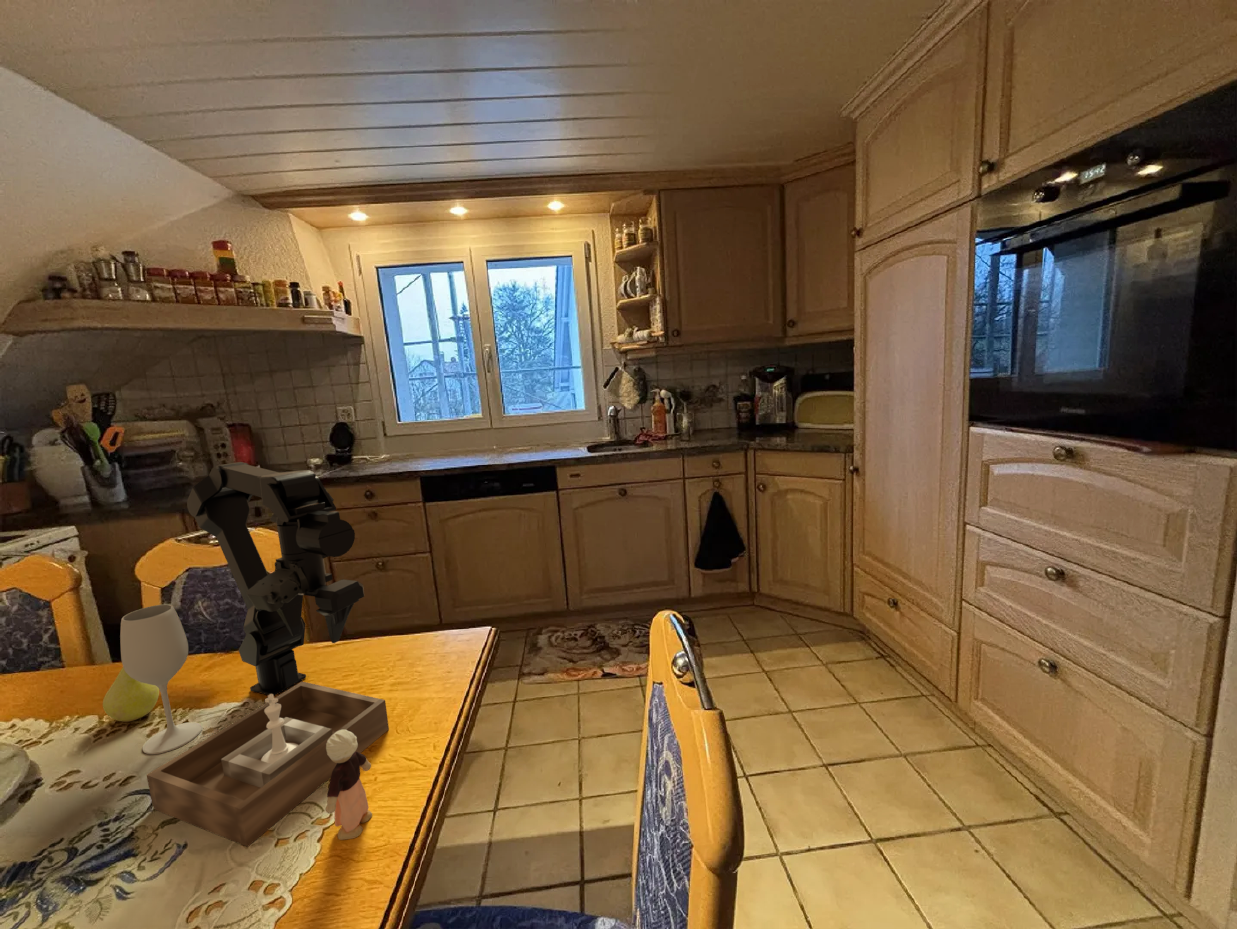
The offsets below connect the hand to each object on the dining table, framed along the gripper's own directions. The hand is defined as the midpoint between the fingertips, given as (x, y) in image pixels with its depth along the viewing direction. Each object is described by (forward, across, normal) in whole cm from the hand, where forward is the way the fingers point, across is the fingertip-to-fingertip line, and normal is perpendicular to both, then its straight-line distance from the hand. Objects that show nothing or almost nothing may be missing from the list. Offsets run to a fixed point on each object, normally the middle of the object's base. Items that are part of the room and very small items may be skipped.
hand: (315, 638), depth 88 cm
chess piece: (+11, +7, -13) cm, 18 cm away
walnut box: (+12, +7, -13) cm, 19 cm away
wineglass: (+12, -16, -14) cm, 25 cm away
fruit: (+12, -29, -12) cm, 34 cm away
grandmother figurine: (+12, +26, -18) cm, 34 cm away
